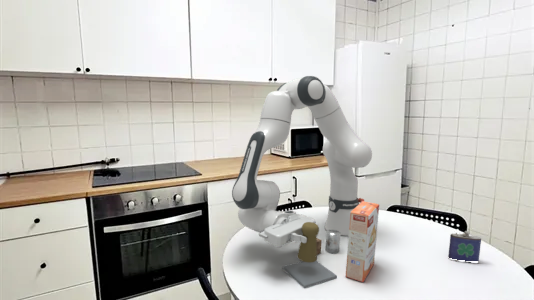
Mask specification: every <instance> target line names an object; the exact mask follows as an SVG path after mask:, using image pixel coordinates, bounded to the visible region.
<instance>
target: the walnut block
mask: <svg viewBox="0 0 534 300" xmlns="http://www.w3.org/2000/svg"><path fill="white" fill-rule="evenodd" d="M316 242H317V256H318V255H320V254H322V243H323V242H322V239H320V238H318V237H316Z"/></svg>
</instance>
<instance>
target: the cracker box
mask: <svg viewBox="0 0 534 300" xmlns="http://www.w3.org/2000/svg"><path fill="white" fill-rule="evenodd" d="M379 210H380V204H379V203H375V202H368V201H365V200H364V201H362V202H361V203H360V202H359V205H358V206H357V207H356V208H354V209H353V210H352V211H351V212H350V223H349V236H348V238H347V239H348V240H347V253H346V254H347V255H346V266H345V277H346V278H348V279H351V280H355V281H358V282H361V283H364V282H365V281H366V278H367V277H368V275H369V274H370V271H371V270H372V268H373V266H374V264H375V256H376V249H377V247H376V246H377V245H376V244H377V236H378V224H379V223H378V222H379V215H380V214H379Z"/></svg>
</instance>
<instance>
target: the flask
mask: <svg viewBox="0 0 534 300" xmlns="http://www.w3.org/2000/svg"><path fill="white" fill-rule="evenodd" d="M470 234H471V233H470V232H469V231H468V230H465V231H464V233H458V232H455V233H450V234H449V235H450V237H449V248H448V255H447V257H449V258H452V259H457V260H465V261H479V262H480V252H481V244H482V238H481V236H477V235H476V236H475V235H470ZM449 258H448V259H449Z"/></svg>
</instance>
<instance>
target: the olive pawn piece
mask: <svg viewBox="0 0 534 300" xmlns="http://www.w3.org/2000/svg"><path fill="white" fill-rule="evenodd" d="M319 228H320V227H319V224H317V223H316V224H315V223H313V222H306V223H304V224H303V225H302V232H303V235H305V236H307V237H308V242H306V243H302V242H299V246H298V251H297V255H296V257H297V259H298V260H300V262H301V261H304V262H315V261H318V260H317V259H318V257H317V256H318V255H317V242H316V238H317V237H316V235H317V234H319V232H320V229H319Z"/></svg>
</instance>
